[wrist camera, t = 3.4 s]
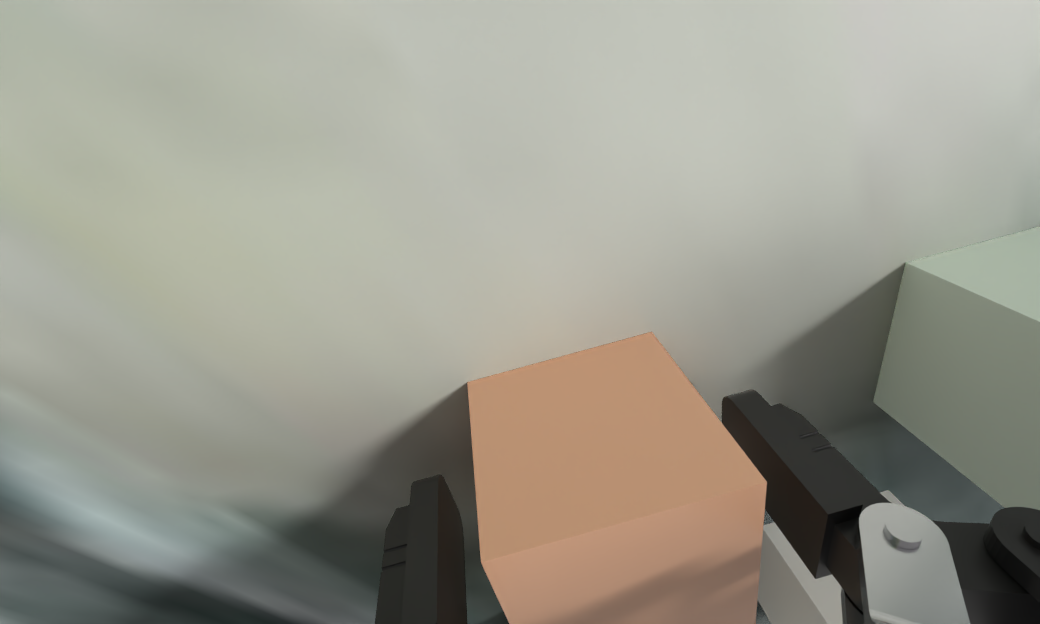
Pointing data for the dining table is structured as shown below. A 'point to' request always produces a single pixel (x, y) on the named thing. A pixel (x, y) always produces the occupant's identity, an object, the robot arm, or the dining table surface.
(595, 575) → the terracotta block
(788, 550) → the cream block
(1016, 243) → the sage block
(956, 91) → the dining table surface
